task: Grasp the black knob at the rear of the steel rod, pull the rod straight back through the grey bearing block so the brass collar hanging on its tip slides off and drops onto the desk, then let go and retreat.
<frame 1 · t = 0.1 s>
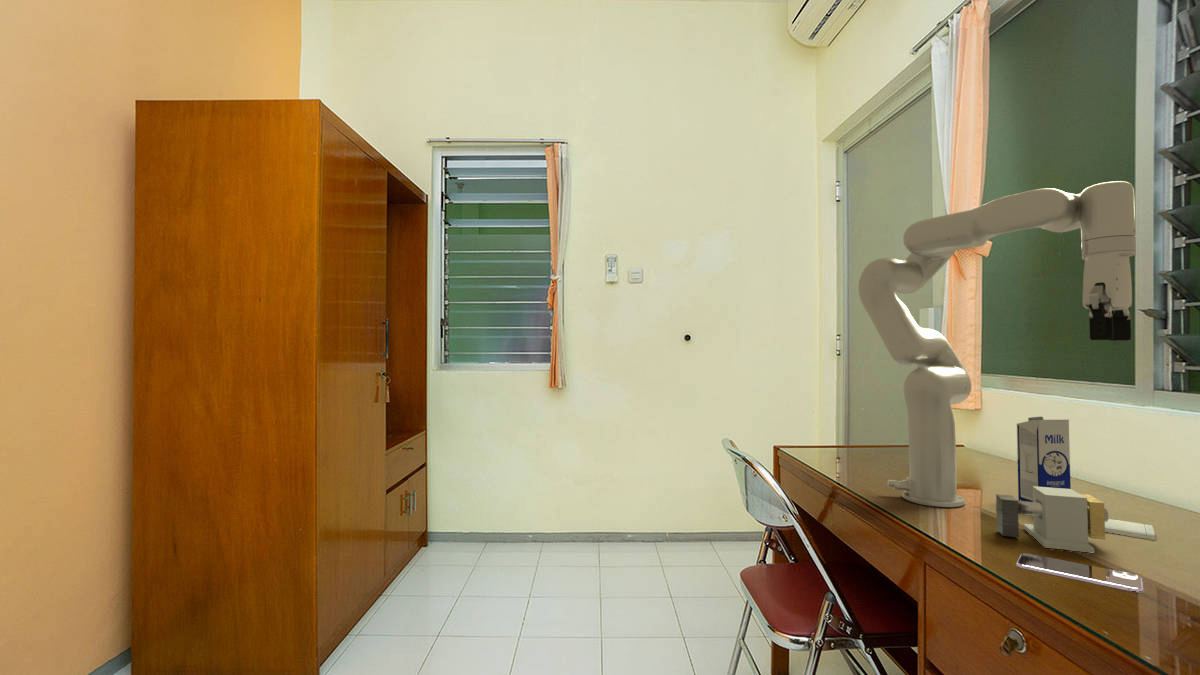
hand: (1110, 340, 104), 37 cm above the table, tool pointing down, fingers open, 9 cm apart
bearing block: (1059, 540, 102), on the table
milk carton: (1044, 505, 127), on the table
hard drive: (1110, 531, 110), on the table
spacer: (1090, 533, 101), point 2 cm above the table, touching shaft
shaft: (1050, 519, 103), point 4 cm above the table, slide at 0.0 cm, touching spacer
mobile phone: (1077, 575, 88), on the table
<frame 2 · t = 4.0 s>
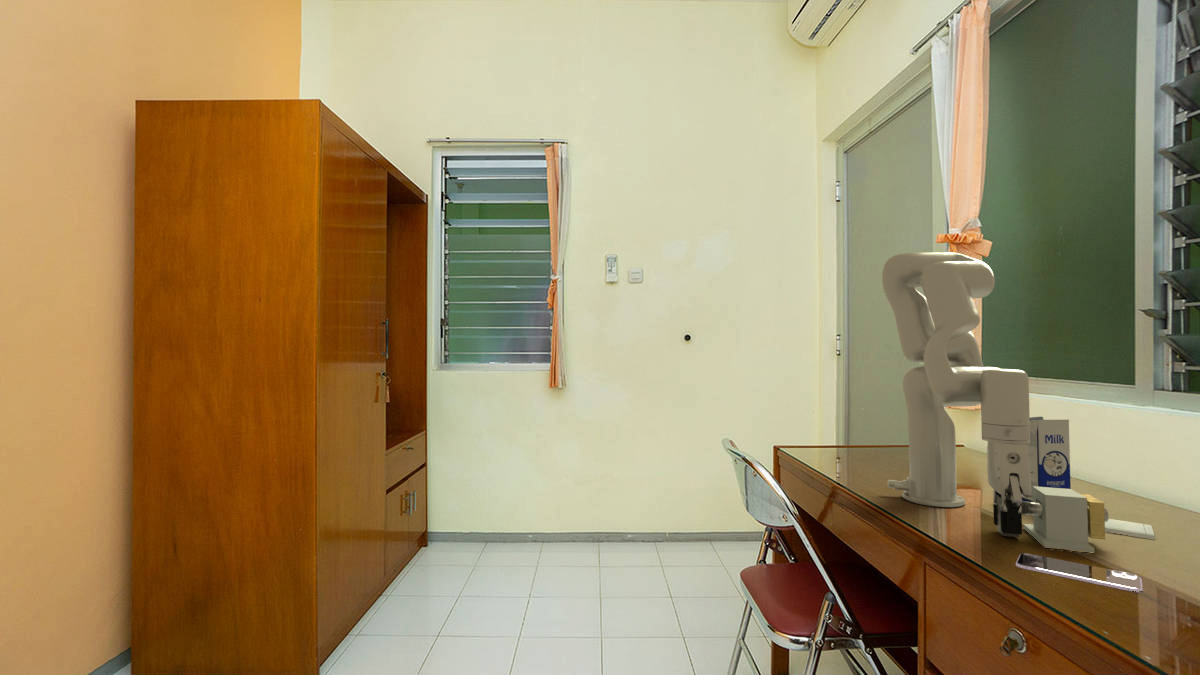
hand: (1007, 528, 106), 1 cm above the table, tool pointing down, fingers closed on shaft, 4 cm apart
shaft: (1050, 519, 103), point 4 cm above the table, slide at 0.0 cm, touching gripper, spacer
everything else where it was.
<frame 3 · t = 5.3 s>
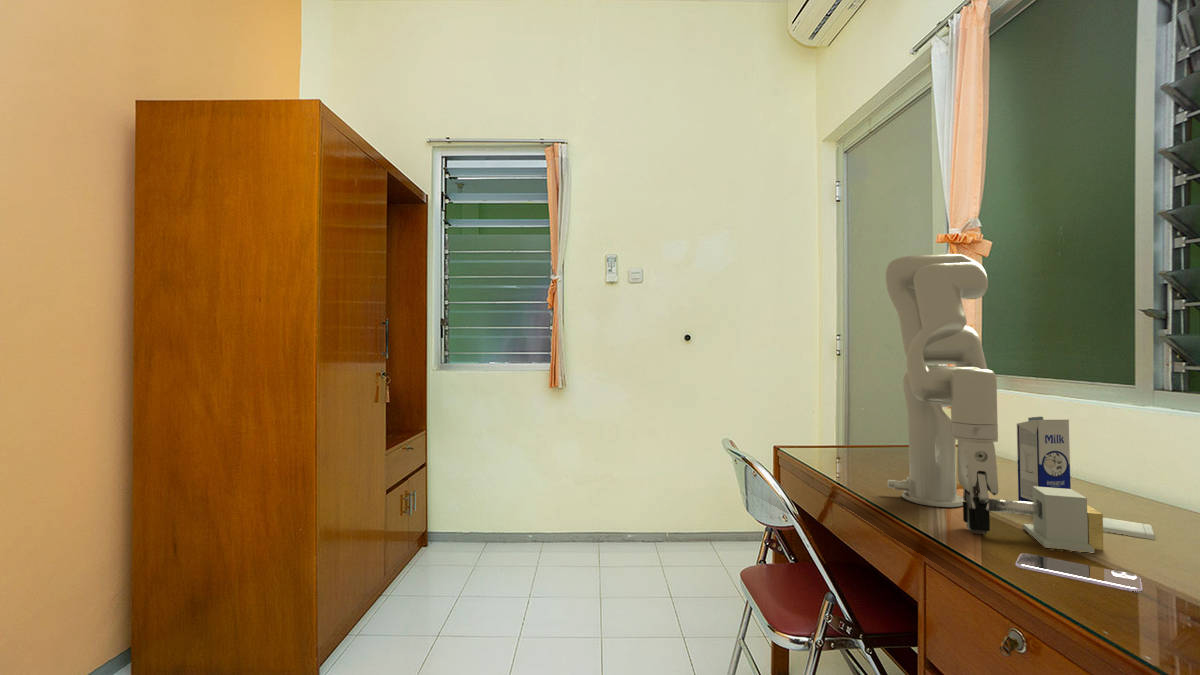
hand: (976, 525, 108), 1 cm above the table, tool pointing down, fingers closed on shaft, 4 cm apart
spacer: (1088, 544, 101), on the table
shaft: (1018, 516, 105), point 4 cm above the table, slide at 5.0 cm, touching gripper
everything else where it was.
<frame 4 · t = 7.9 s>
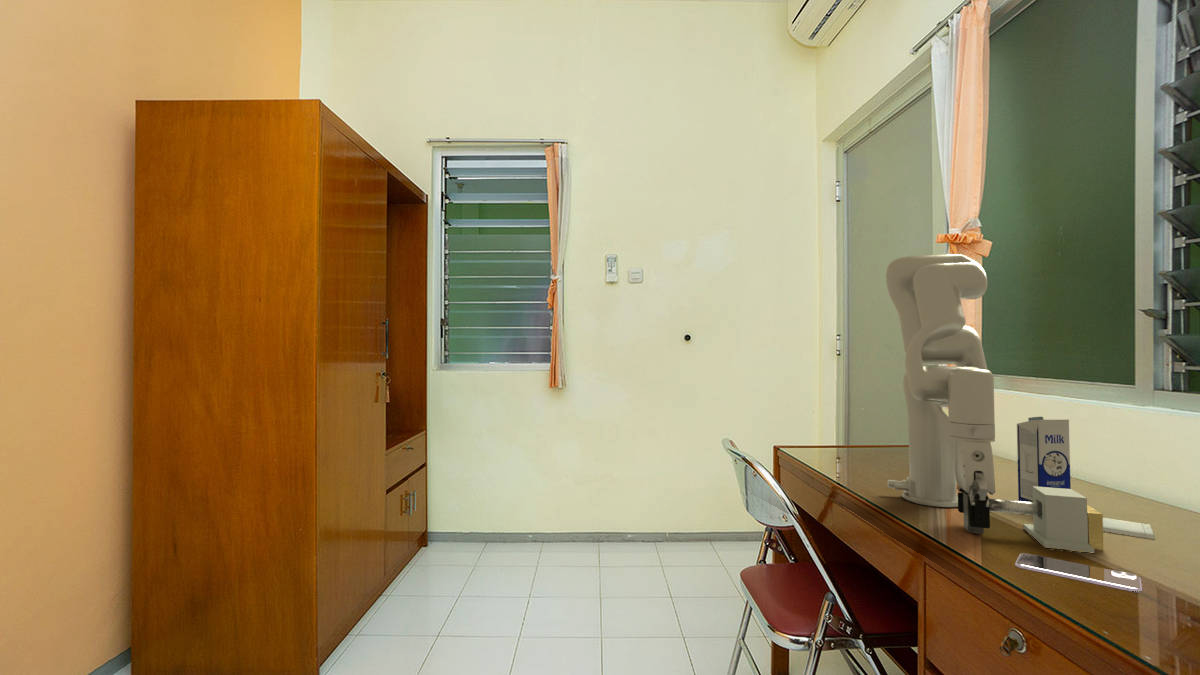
hand: (973, 519, 108), 2 cm above the table, tool pointing down, fingers open, 9 cm apart
shaft: (1015, 516, 105), point 4 cm above the table, slide at 5.5 cm
everything else where it was.
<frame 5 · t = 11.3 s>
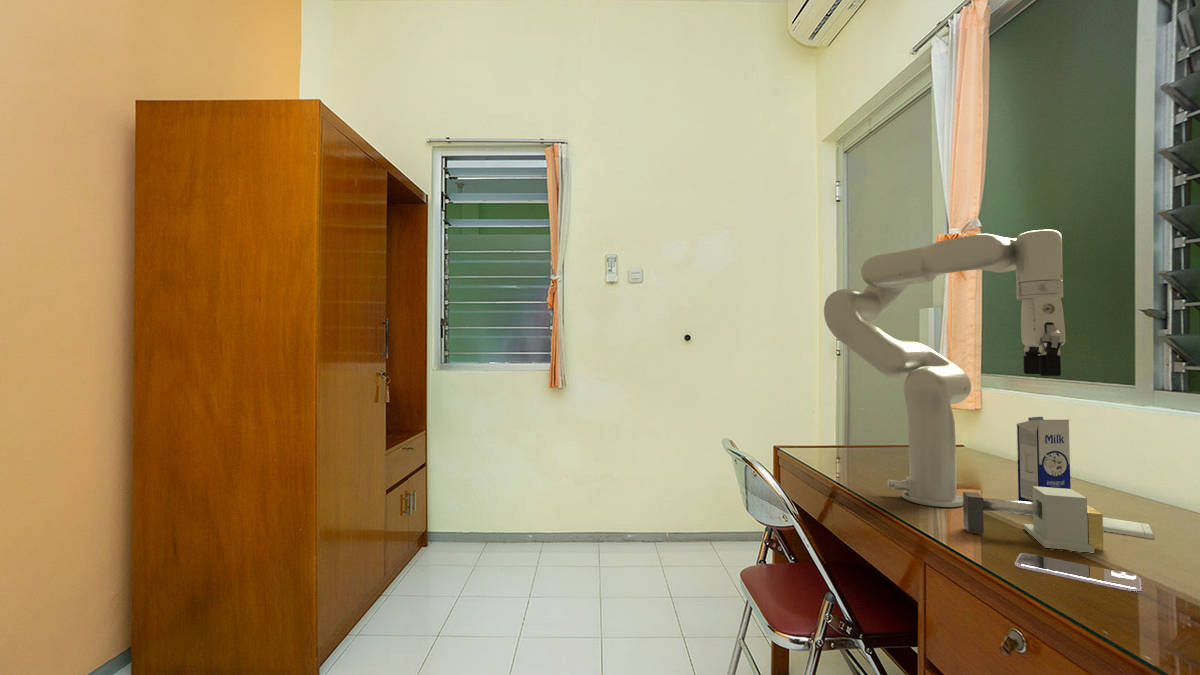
hand: (1041, 374, 113), 30 cm above the table, tool pointing down, fingers open, 9 cm apart
nothing on the table moved.
at the end: spacer on the table; shaft slide at 5.5 cm; spacer inside the target area (2.3 cm from its centre), on the table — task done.
